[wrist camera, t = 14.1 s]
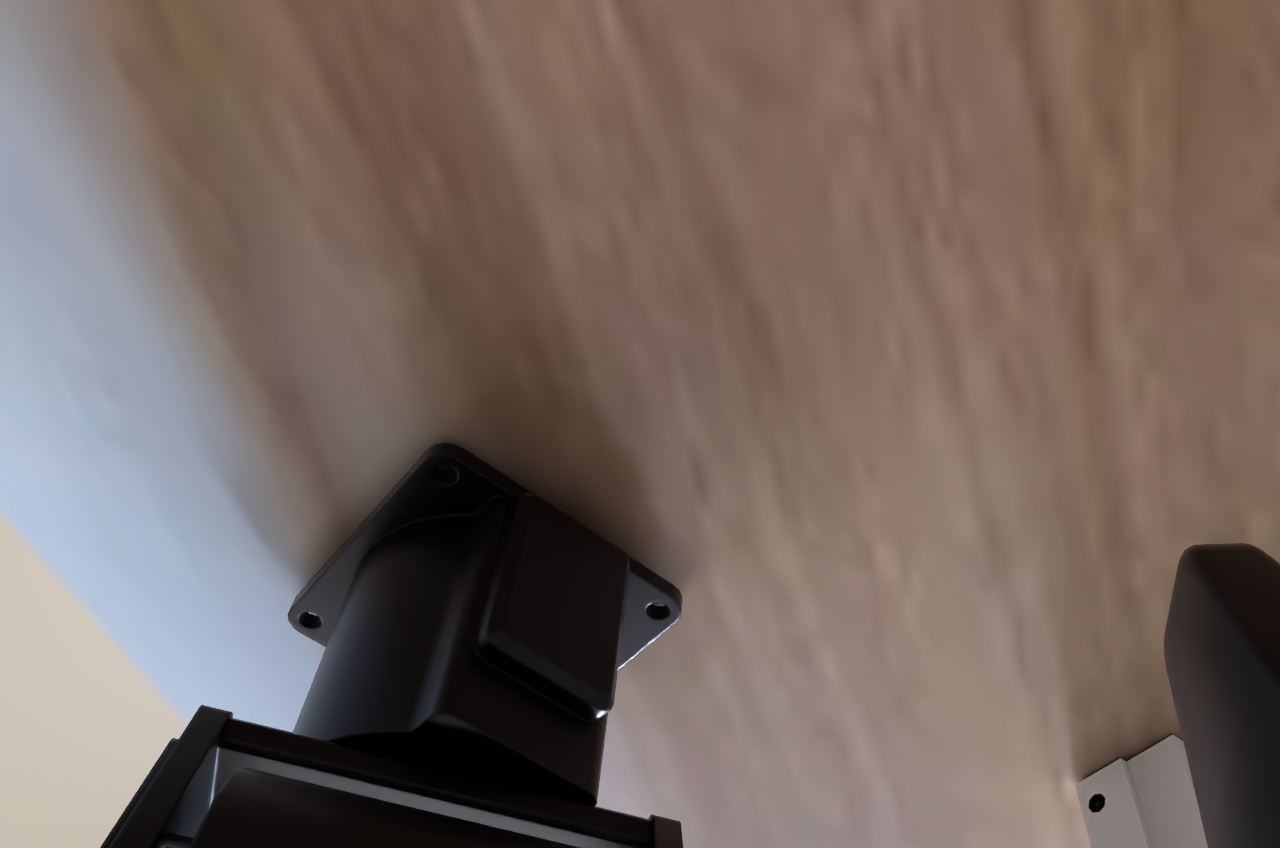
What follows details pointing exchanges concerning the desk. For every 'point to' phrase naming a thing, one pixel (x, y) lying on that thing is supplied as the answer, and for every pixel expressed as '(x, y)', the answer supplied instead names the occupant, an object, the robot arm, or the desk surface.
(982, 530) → the desk surface
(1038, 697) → the desk surface
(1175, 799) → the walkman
